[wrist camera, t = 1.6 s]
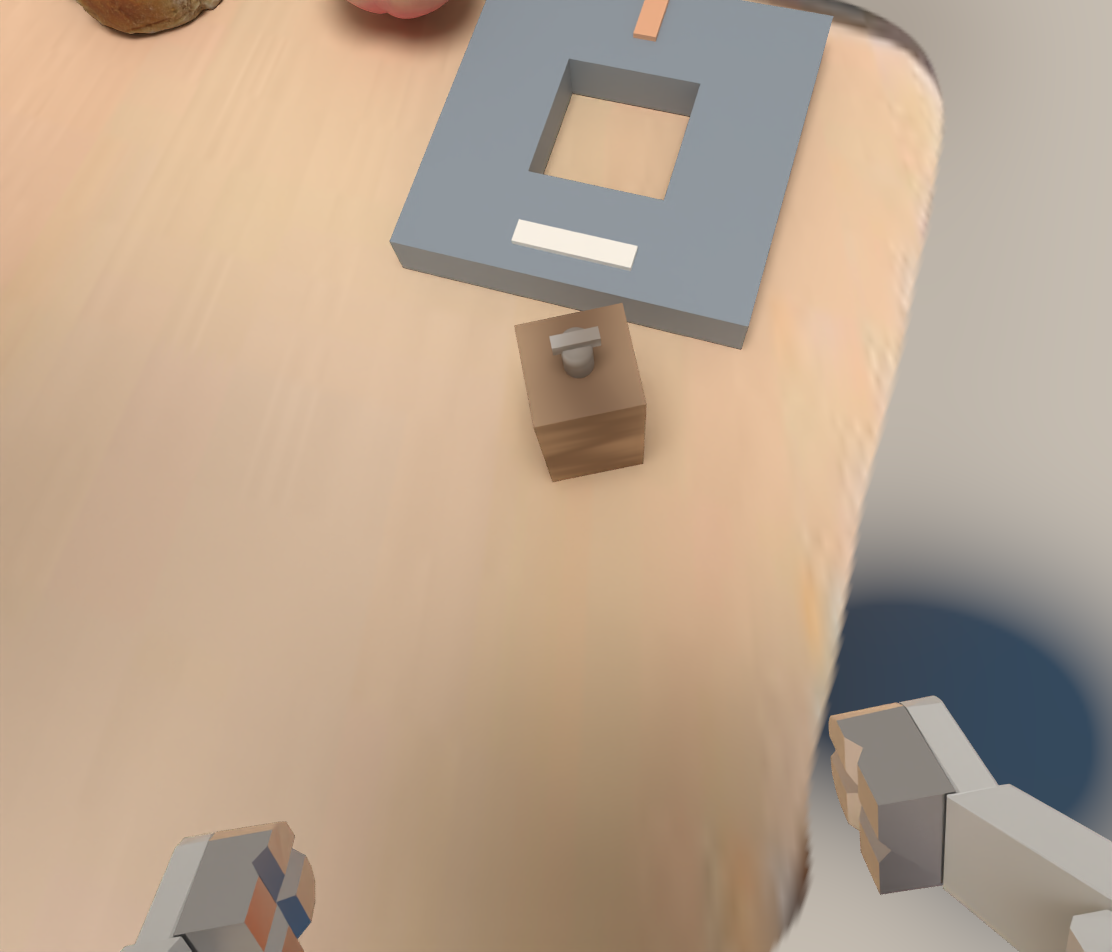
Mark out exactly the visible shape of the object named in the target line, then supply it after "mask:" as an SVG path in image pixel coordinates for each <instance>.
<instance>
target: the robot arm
mask: <svg viewBox="0 0 1112 952" xmlns="http://www.w3.org/2000/svg"><path fill="white" fill-rule="evenodd" d="M829 735H830V738H831V740H832V742H833V744H834V747H835V749H836V751H835V752H834V753H833V754H832V756H831V765H832V775H833V779H834V784H835V788H836V792H837V795H838V798H839V801H840V804H841V807H842V809H843V812H844V814H845V816H846V819H847V821H848V823H849V824H850V825H851V826H853V827H855V828H856V829H857V830H859V831H860V846H861V853H862V855H863V858H864V860H865V862H866V864H867V866H868V869H869V871H870V873H871V875H872V877H873V880H874V882H875V884H876V886H877V889H878V891H879V893H880V895H881V894H887V893H894V892H900V891H907V890H913V889H921V888H928V887H934V886H941V885H943V889H944V890H946V891H947V892H948V893H949V894H950V895H952V896H953V897H954V898H955V899H956V900H958V901H959V902H960V903H961V904H962V905H964V906H965V907H966V908H967V909H968V910H970V911H971V912H972V913H973V914H975V915H976V916H977V917H978V918H979V919H981V920H982V921H983V922H984V923H985V924H987V925H988V926H989V927H990V928H992V929H993V930H994V931H995V932H996V933H998V934H999V935H1000V936H1001V937H1002V938H1004V939H1005V940H1006V941H1007V942H1008V943H1010V944H1011V945H1012V946H1013V947H1014V948H1016V949H1017V950H1018V951H1019V952H1112V841H1110V840H1108V839H1106V838H1104V837H1103V836H1101V835H1099V834H1097V833H1096V832H1094V831H1092V830H1090V829H1089V828H1087V827H1085V826H1083V825H1081V824H1080V823H1078V822H1076V821H1074V820H1073V819H1071V818H1069V817H1067V816H1066V815H1064V814H1062V813H1060V812H1059V811H1057V810H1055V809H1053V808H1051V807H1050V806H1048V805H1046V804H1044V803H1043V802H1041V801H1039V800H1037V799H1035V798H1034V797H1032V796H1030V795H1028V794H1027V793H1025V792H1023V791H1021V790H1020V789H1018V788H1016V787H1014V786H1012V785H1011V784H1005V785H998V784H997V782H996V781H995V779H994V778H993V776H992V775H991V773H990V772H989V770H988V769H987V768H986V766H985V764H984V763H983V762H982V760H981V759H980V757H979V756H978V754H977V753H976V751H975V750H974V748H973V747H972V745H971V744H970V742H969V741H968V739H967V738H966V736H965V735H964V733H963V732H962V731H961V729H960V727H959V726H958V724H957V723H956V721H955V720H954V718H953V717H952V715H951V714H950V712H949V711H948V710H947V708H946V706H945V705H944V703H943V702H942V701H941V700H940V699H939V698H937V697H936V696H930V697H924V698H919V699H914V700H909V701H904V702H900V703H899V704H898V703H892V704H887V705H882V706H877V707H872V708H867V709H862V710H857V711H852V712H847V713H842V714H838V715H833V716H830V719H829ZM294 838H295V835H294V833H293V832H292V830H291V829H290V827H289V825H288V824H287V822H274V823H268V824H262V825H256V826H250V827H244V828H237V829H231V830H225V831H219V832H215V833H209V834H203V835H198V836H192V837H186V838H184V839H183V840H182V841H181V842H180V843H179V844H178V845H177V846H176V848H175V849H174V852H173V854H172V856H171V859H170V861H169V864H168V866H167V868H166V871H165V873H164V876H163V878H162V880H161V883H160V885H159V888H158V890H157V892H156V895H155V897H154V900H153V902H152V904H151V907H150V909H149V912H148V914H147V916H146V919H145V921H144V924H143V926H142V928H141V931H140V933H139V936H138V938H137V940H136V943H135V944H134V945H129V946H125V947H124V948H123V949H122V950H121V951H120V952H304V950H303V948H302V946H301V945H300V943H299V941H298V938H299V937H300V935H301V934H302V933H303V932H304V930H305V929H306V928H307V927H308V925H309V924H310V923H311V921H312V916H313V911H314V906H315V879H314V875H313V871H312V867H311V865H310V863H309V861H308V859H307V857H306V855H304V854H302V853H300V852H298V851H296V850H294V849H292V846H293V842H294Z"/></svg>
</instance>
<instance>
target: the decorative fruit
mask: <svg viewBox="0 0 1112 952" xmlns="http://www.w3.org/2000/svg"><path fill="white" fill-rule="evenodd" d="M346 1H348V2H350V3H351V4H353V5H355V6H357V7H359V8H361V9H363V10H366V11H369V12H372V13H378V14H382V13H389V14H390V15H392V16H395V17H398V18H403V19H411V18H416V17H420V16H423V15H426V14H428V13H431V12H433V11H435V10H436V9H438V8H440V7H441V6H443V5H444V4H445V3H446V2H447V1H449V0H346Z"/></svg>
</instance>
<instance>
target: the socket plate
mask: <svg viewBox="0 0 1112 952" xmlns="http://www.w3.org/2000/svg"><path fill="white" fill-rule="evenodd" d="M832 18H833V16H829V15H823V14H817V13H812V12H806V11H800V10H794V9H788V8H783V7H777V6H771V5H765V4H759V3H754V2H748V1H742V0H486V2H485V5H484V7H483V10H482V12H481V15H480V17H479V20H478V22H477V25H476V27H475V30H474V32H473V35H472V37H471V40H470V42H469V45H468V47H467V50H466V52H465V55H464V57H463V60H462V62H461V65H460V67H459V70H458V72H457V75H456V77H455V80H454V82H453V84H452V87H451V89H450V92H449V94H448V97H447V99H446V102H445V104H444V107H443V109H442V112H441V114H440V117H439V119H438V122H437V124H436V127H435V129H434V132H433V134H432V137H431V139H430V142H429V144H428V147H427V149H426V152H425V154H424V157H423V159H422V162H421V164H420V167H419V169H418V172H417V174H416V177H415V179H414V182H413V184H412V187H411V189H410V192H409V194H408V197H407V199H406V202H405V204H404V207H403V209H402V212H401V214H400V217H399V219H398V222H397V224H396V227H395V229H394V232H393V234H392V237H391V239H390V243H391V245H392V247H393V249H394V251H395V253H396V255H397V257H398V259H399V261H400V263H401V264H402V266H403V268H407V269H411V270H415V271H420V272H424V273H428V274H432V275H436V276H440V277H444V278H449V279H453V280H457V281H461V282H465V283H469V284H473V285H477V286H482V287H486V288H490V289H494V290H498V291H502V292H506V293H510V294H515V295H519V296H523V297H527V298H531V299H535V300H539V301H543V302H548V303H552V304H556V305H560V306H564V307H568V308H572V309H576V310H581V311H586V310H590V309H595V308H600V307H604V306H609V305H614V304H619V303H623V307H624V311H625V315H626V320H627V322H630V323H634V324H638V325H643V326H647V327H651V328H655V329H659V330H663V331H667V332H671V333H676V334H680V335H684V336H688V337H692V338H696V339H700V340H704V341H709V342H713V343H717V344H721V345H725V346H729V347H733V348H737V349H741V348H742V345H743V342H744V339H745V335H746V332H747V329H748V326H749V322H750V318H751V315H752V311H753V307H754V304H755V300H756V296H757V293H758V289H759V285H760V282H761V278H762V275H763V271H764V267H765V264H766V260H767V256H768V253H769V249H770V245H771V242H772V238H773V234H774V231H775V227H776V223H777V220H778V216H779V212H780V209H781V205H782V201H783V198H784V194H785V190H786V187H787V183H788V179H789V176H790V172H791V168H792V165H793V161H794V157H795V154H796V150H797V147H798V143H799V139H800V136H801V132H802V128H803V125H804V121H805V117H806V114H807V110H808V106H809V103H810V99H811V95H812V92H813V88H814V84H815V81H816V77H817V73H818V70H819V66H820V62H821V59H822V55H823V51H824V48H825V44H826V40H827V37H828V33H829V29H830V26H831V22H832ZM572 93H574V94H579V95H584V96H589V97H594V98H599V99H604V100H610V101H615V102H620V103H625V104H630V105H635V106H640V107H645V108H650V109H655V110H660V111H665V112H670V113H675V114H680V115H685V116H690V119H689V122H688V125H687V128H686V131H685V135H684V138H683V141H682V144H681V147H680V151H679V154H678V157H677V160H676V163H675V167H674V170H673V173H672V176H671V179H670V183H669V186H668V189H667V192H666V195H665V198H664V200H659V199H655V198H650V197H646V196H641V195H636V194H632V193H627V192H622V191H618V190H613V189H608V188H604V187H599V186H595V185H590V184H585V183H581V182H576V181H571V180H567V179H562V178H557V177H553V176H548V175H544V171H545V168H546V165H547V162H548V160H549V157H550V154H551V151H552V148H553V146H554V143H555V140H556V137H557V134H558V132H559V129H560V126H561V123H562V120H563V118H564V115H565V112H566V109H567V106H568V104H569V101H570V98H571V95H572Z"/></svg>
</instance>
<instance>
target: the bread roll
mask: <svg viewBox="0 0 1112 952" xmlns="http://www.w3.org/2000/svg"><path fill="white" fill-rule="evenodd" d="M220 1H221V0H76V2H77V3H78V4H80V5H81V6H83V8H84V9H85V11H87V12H88V13H89V14H90V15H91V16H92V17H93V18H95V19H96V20H98V21H99V22H100V23H101V24H102V25H106V26H108V27H111V28H114V29H116V30H119V31H122V32H125V33H129V34H133V33H155V32H158V31H162V30H167V29H171V28H175V27H178V26H181V25H184V24H186V23H188V22H189V21H191V20H193V19H195V18H196V17H197V16H198V15H199V14H200V13H201V12H202V11H203V10H206V9H214V8H215V7H217V5H218V4H219V2H220Z"/></svg>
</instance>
